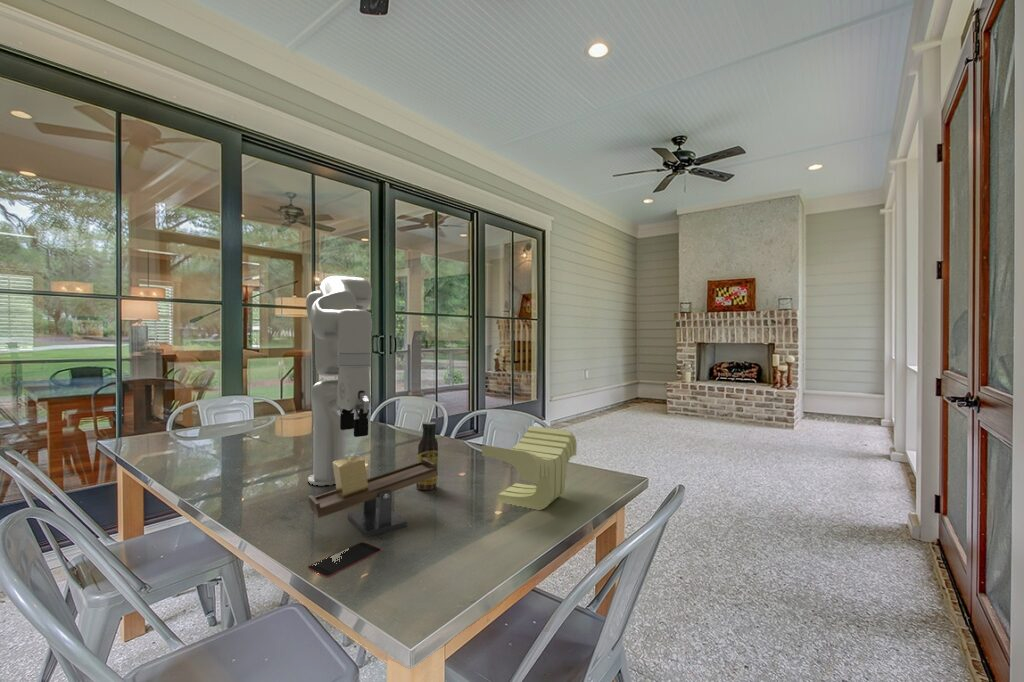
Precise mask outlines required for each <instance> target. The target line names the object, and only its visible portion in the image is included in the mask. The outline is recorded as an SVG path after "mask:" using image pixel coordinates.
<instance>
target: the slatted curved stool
mask: <svg viewBox="0 0 1024 682" xmlns="http://www.w3.org/2000/svg"><path fill="white" fill-rule="evenodd" d="M577 446H578V445H577V439H576V436H575V435H574V433H573V432H571V431H570V430H566V429H560V428H552V427H551V428H550V427H542V426H534V425H529V426H528V428H527V431H526V432H525V433H524V435H523V437H521V439H520V440H519V441H518V442H517V443H516V444H515V445H514V446H513V447H512V448H510V449H509V448H504V447H497V446H489V445H483V444H482V446H481V456H482V457H486V458H492V459H494V460H495V459H496V460H499V461H501V462H505V463H508V464H510V465H511V466H513V467H514V468H515V469H516V470H517V472H518V475H519V477H520V480H521V482H522V481H523V482H527V483H534V484H535V485H531V484H524V483H523V484H522V483H518V482H515V483H514V484H512V485H511V486H509V487H507V488H506V489H504V490H502V491H501V492H500V493H498V494H497V497H496V498H497V499H496V502H497V501H498V502H497V503H500V502H502V503H501V504H505V503H506V504H505V505H509V504H512V505H511V506H514V505H516V506H515V507H519V506H522V507H521V508H524V507H527V508H526V509H529V508H532V509H531V510H533V509H537V510H536V511H542V510H544V509H546V508H547V507H548V506H549V505H550V504H551V503H553V502H554V501H555V500H556V499H557V498H559V497H560V496H561V495H562V494H563V493H564V491H565V488H566V477H567V476H566V475H567V465H568V464H569V462H570V460H571V458H572V457H574V456H575V457H576V456H577Z"/></svg>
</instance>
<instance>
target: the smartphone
mask: <svg viewBox="0 0 1024 682" xmlns="http://www.w3.org/2000/svg"><path fill="white" fill-rule="evenodd" d="M348 548H349V550H348V551H346V552H345V551H344V552H345V553H344V552H343V554H342V553H341V555H340V556H342V559H341V557H340V562H339V560H338V561H336V562H335V563H334V561H333V562H332V558H330V557H331V556H332V555H333V554H332V555H329V556H327V557H328V558H327V557H325V558H322V559H320V560H318V561H316V562H314V563H312V564H309V565H308V566H307V569H308V568H309V569H310V570H309V569H308V570H309V571H311V570H312V571H311V572H313V571H314V572H313V573H315V572H316V573H315V574H317V573H319V574H320V575H319V574H318V575H319V576H321V575H322V576H321V577H323V576H325V577H324V578H330V577H333V576H334V575H336V573H337V574H339V573H340V572H339V571H341V572H343V571H345V570H346V568H347V569H349V568H350V567H353V566H354V565H356V564H358V563H360V562H362V560H363V561H364V559H365V560H366V558H367V559H368V557H369V558H370V556H371V557H373V556H374V554H375V555H377V554H379V553H380V551H381V552H382V548H380V547H378V546H375V545H372V544H370V543H368V542H364V541H361V542H358V543H356V544H353V545H351V546H349V547H348ZM376 553H377V554H376ZM372 555H373V556H372ZM326 558H327V559H326ZM338 559H339V558H338ZM321 560H322V562H321ZM336 560H337V559H336ZM319 561H320V562H319ZM316 563H317V565H316V566H315V565H313V564H316ZM318 563H319V564H318ZM336 563H337V564H336ZM310 565H311V566H310ZM312 565H313V566H312ZM348 567H349V568H348ZM342 570H343V571H342Z"/></svg>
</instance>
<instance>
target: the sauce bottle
mask: <svg viewBox="0 0 1024 682" xmlns="http://www.w3.org/2000/svg"><path fill="white" fill-rule="evenodd" d="M421 427H422V435H421V436H422V437H421V440H420V442H419V443H418V447H417V449H418V450H417V457H416V458H417V459H416V461H417V462H420V461H422V459H423V458H425V459H427V460H429V461H431V462H433V463H435V465H436V467H437V468H438V465H439V463H438V460H439V443H438V441H437V439H436V427H437V423H436V422H433V421H424V422H422V426H421ZM417 462H416V463H417ZM437 483H438V476H435V477H432V478H429V479H426V480H424V481H421V482H418V483H415V484H416V489H418V490H420V491H421V490H422V491H430V490H434V489H435V488H436V486H437Z"/></svg>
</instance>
